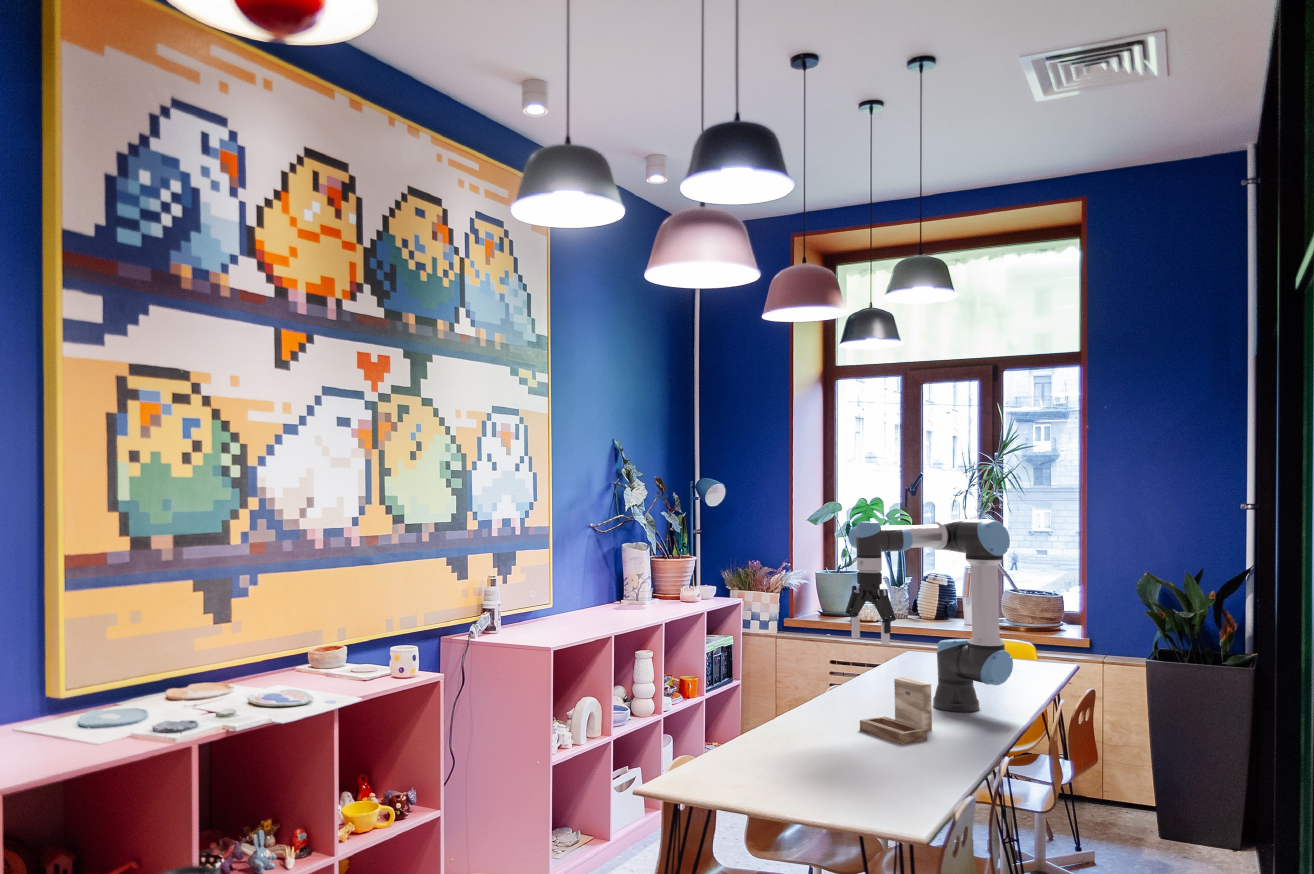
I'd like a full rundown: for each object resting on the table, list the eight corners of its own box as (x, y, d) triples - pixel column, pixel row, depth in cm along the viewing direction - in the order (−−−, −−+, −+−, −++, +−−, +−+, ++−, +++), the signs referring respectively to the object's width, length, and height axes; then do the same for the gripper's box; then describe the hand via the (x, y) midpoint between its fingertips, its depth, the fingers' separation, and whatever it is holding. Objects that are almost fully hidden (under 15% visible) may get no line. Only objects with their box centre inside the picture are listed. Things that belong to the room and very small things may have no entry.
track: (884, 726, 288) (884, 716, 288) (927, 739, 271) (927, 729, 272) (859, 729, 283) (859, 720, 283) (901, 744, 267) (901, 733, 267)
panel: (904, 721, 294) (904, 677, 295) (932, 729, 283) (931, 683, 284) (894, 722, 292) (894, 678, 293) (922, 731, 281) (921, 685, 282)
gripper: (833, 569, 292) (834, 636, 290) (887, 575, 270) (889, 647, 268) (852, 568, 295) (853, 634, 294) (907, 574, 273) (908, 645, 272)
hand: (870, 641), depth 281 cm, fingers open, 13 cm apart
